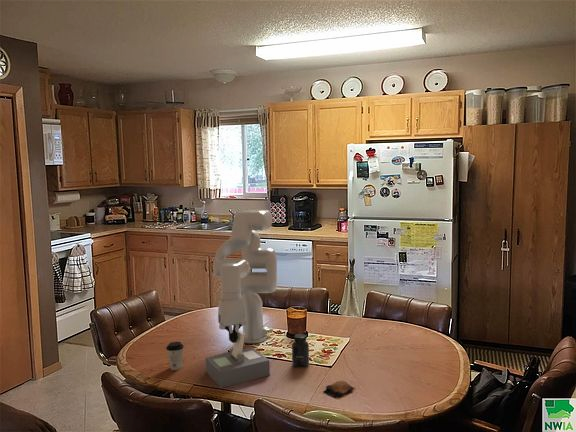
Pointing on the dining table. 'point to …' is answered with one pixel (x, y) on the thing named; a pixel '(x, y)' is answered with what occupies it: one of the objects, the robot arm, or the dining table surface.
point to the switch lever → (238, 344)
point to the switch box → (237, 367)
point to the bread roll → (338, 389)
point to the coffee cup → (175, 355)
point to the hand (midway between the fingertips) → (233, 341)
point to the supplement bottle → (300, 351)
